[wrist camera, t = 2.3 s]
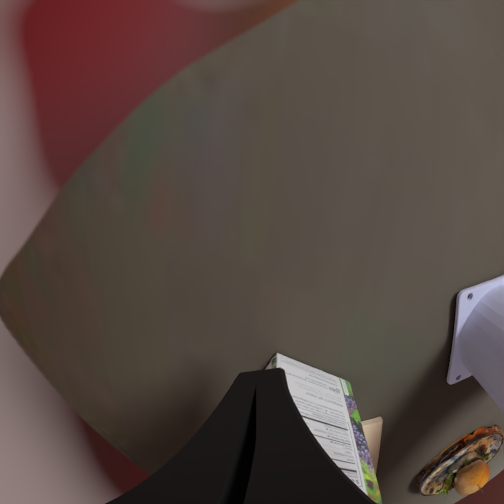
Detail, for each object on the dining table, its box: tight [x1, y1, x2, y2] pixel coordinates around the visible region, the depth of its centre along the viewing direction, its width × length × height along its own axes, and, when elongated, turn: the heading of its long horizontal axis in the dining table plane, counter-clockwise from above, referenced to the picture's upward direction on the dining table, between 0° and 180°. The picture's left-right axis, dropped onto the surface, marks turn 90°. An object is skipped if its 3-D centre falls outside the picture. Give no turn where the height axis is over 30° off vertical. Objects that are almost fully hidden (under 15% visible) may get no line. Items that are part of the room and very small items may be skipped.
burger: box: [416, 425, 504, 497], centre depth 17 cm, size 12×12×8 cm
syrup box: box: [264, 353, 382, 504], centre depth 11 cm, size 6×6×14 cm
